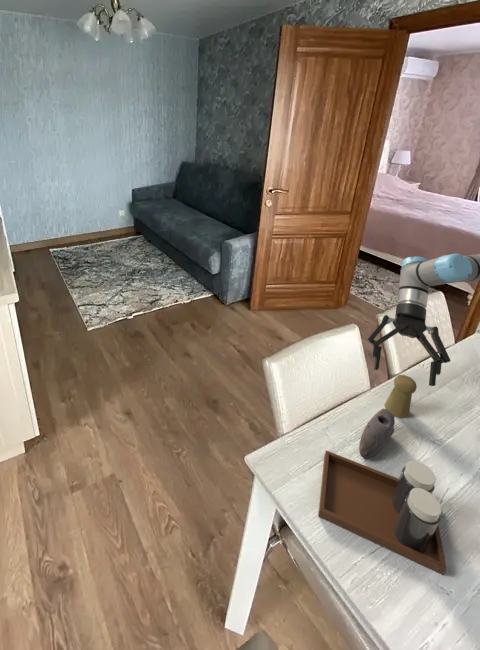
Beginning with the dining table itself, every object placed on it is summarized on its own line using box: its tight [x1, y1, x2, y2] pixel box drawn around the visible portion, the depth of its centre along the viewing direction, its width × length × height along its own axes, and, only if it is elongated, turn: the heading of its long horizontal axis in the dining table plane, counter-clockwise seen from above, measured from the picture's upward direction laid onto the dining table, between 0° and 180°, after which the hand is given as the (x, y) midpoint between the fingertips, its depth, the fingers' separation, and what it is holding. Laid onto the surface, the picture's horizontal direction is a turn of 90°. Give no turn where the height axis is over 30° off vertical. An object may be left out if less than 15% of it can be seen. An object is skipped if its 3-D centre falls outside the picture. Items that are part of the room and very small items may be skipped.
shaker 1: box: [392, 460, 437, 513], centre depth 72 cm, size 6×6×11 cm
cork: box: [384, 374, 418, 419], centre depth 96 cm, size 6×6×11 cm
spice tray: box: [317, 450, 447, 576], centre depth 73 cm, size 22×15×3 cm
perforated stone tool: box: [358, 407, 396, 459], centre depth 87 cm, size 15×5×7 cm, turn 128°
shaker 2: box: [394, 488, 443, 553], centre depth 67 cm, size 6×6×11 cm
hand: (403, 377), depth 98 cm, fingers open, 13 cm apart
